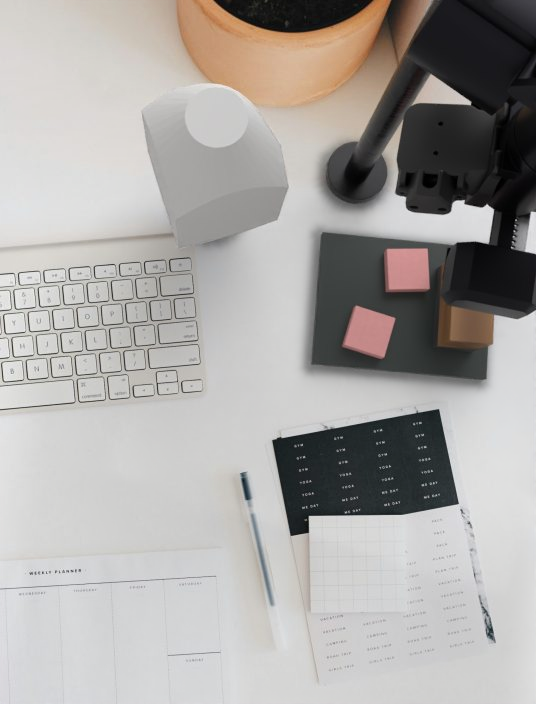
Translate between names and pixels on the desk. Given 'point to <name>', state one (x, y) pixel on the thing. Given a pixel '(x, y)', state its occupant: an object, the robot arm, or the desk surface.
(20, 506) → the desk surface
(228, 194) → the light fixture
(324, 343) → the slate
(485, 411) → the desk surface
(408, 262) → the crumb
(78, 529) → the desk surface
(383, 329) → the crumb
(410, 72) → the desk lamp
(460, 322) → the brown block
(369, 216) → the desk surface
